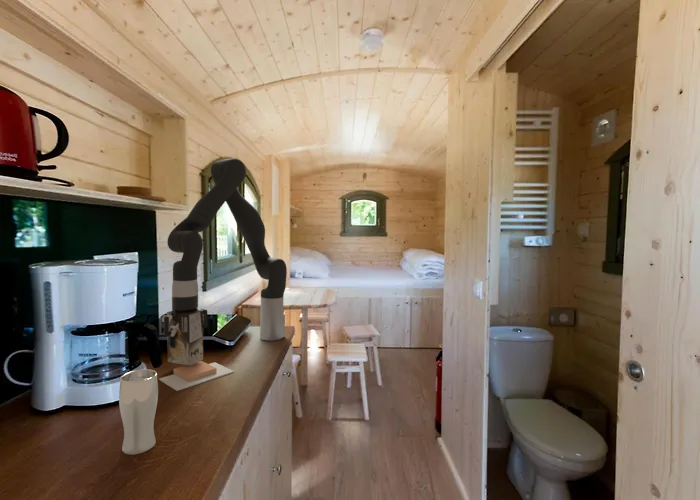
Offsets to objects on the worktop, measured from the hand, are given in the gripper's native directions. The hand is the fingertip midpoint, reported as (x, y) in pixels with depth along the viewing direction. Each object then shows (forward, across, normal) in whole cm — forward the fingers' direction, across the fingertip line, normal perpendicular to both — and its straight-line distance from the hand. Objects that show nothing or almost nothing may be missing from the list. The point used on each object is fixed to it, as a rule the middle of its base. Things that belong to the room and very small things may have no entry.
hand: (185, 344), depth 116 cm
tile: (+7, 0, +2) cm, 7 cm away
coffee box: (+5, 0, 0) cm, 5 cm away
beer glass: (+8, +26, +32) cm, 42 cm away
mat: (+8, 0, +8) cm, 11 cm away
